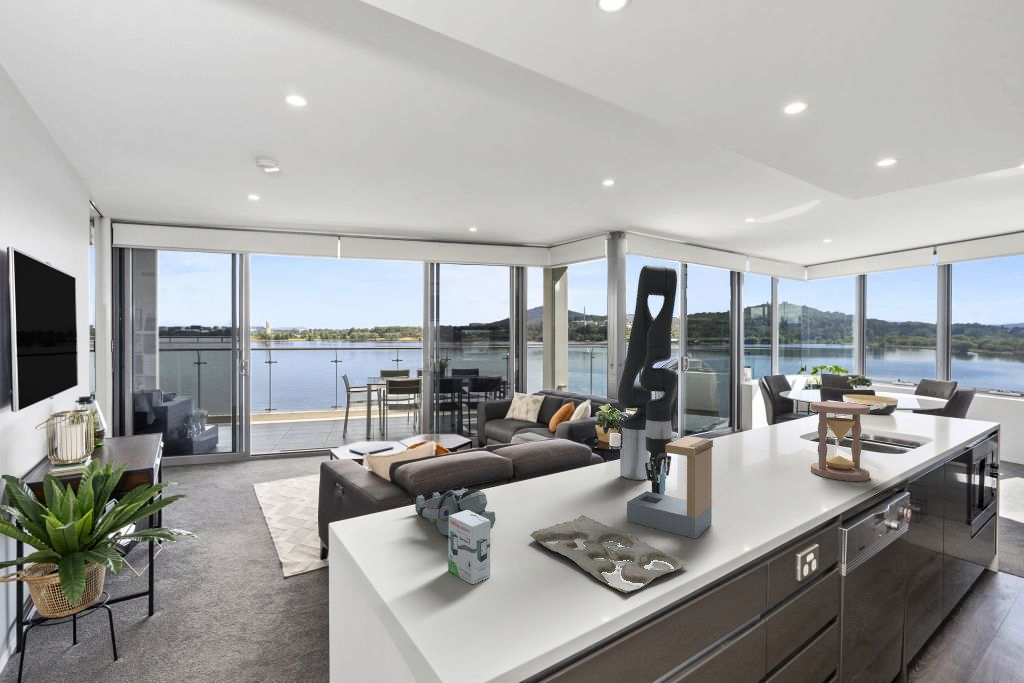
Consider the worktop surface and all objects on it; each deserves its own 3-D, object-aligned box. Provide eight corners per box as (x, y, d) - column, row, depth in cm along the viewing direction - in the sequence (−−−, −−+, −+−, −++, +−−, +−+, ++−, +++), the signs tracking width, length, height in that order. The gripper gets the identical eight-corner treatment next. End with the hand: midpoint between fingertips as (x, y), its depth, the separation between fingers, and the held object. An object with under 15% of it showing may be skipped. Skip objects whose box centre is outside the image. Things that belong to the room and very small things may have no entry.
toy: (452, 483, 142) (508, 482, 118) (457, 522, 140) (514, 529, 116) (397, 493, 133) (446, 495, 109) (401, 535, 131) (452, 546, 107)
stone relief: (624, 601, 91) (690, 570, 102) (624, 586, 91) (690, 556, 102) (523, 542, 118) (584, 522, 129) (522, 530, 118) (584, 512, 129)
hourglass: (851, 468, 182) (851, 401, 182) (881, 482, 165) (882, 408, 165) (801, 467, 184) (801, 401, 184) (826, 480, 167) (826, 407, 166)
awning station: (625, 521, 129) (625, 438, 129) (648, 507, 140) (648, 431, 140) (693, 540, 117) (693, 448, 117) (712, 523, 128) (713, 439, 128)
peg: (650, 501, 145) (650, 464, 145) (655, 499, 147) (655, 462, 147) (661, 504, 143) (661, 466, 143) (666, 501, 145) (666, 464, 145)
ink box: (446, 570, 102) (446, 514, 102) (465, 563, 105) (465, 508, 105) (472, 586, 96) (472, 525, 95) (491, 577, 99) (491, 519, 99)
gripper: (656, 430, 153) (656, 485, 153) (636, 437, 142) (635, 496, 142) (680, 433, 148) (680, 489, 148) (660, 440, 137) (660, 501, 137)
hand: (658, 492), depth 145 cm, fingers closed on peg, 3 cm apart
